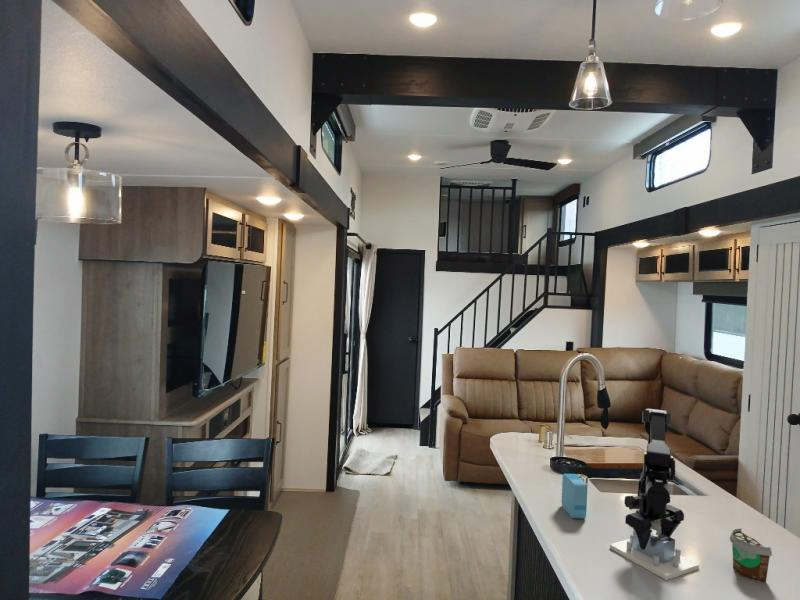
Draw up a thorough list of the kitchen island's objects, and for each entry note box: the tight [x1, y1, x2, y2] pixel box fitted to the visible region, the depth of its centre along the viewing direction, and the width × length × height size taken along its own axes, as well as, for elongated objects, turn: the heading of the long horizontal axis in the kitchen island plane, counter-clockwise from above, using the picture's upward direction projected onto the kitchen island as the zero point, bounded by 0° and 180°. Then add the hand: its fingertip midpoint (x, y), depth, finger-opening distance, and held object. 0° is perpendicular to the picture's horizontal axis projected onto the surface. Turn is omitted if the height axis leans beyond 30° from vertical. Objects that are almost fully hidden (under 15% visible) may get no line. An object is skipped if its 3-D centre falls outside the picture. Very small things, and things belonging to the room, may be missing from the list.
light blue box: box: [561, 473, 588, 520], centre depth 188 cm, size 12×4×12 cm, turn 2°
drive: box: [632, 527, 676, 564], centre depth 158 cm, size 5×10×6 cm, turn 28°
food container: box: [729, 528, 773, 583], centre depth 152 cm, size 12×6×10 cm, turn 5°
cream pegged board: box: [609, 533, 700, 581], centre depth 158 cm, size 14×19×4 cm
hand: (653, 546), depth 158 cm, fingers open, 9 cm apart
